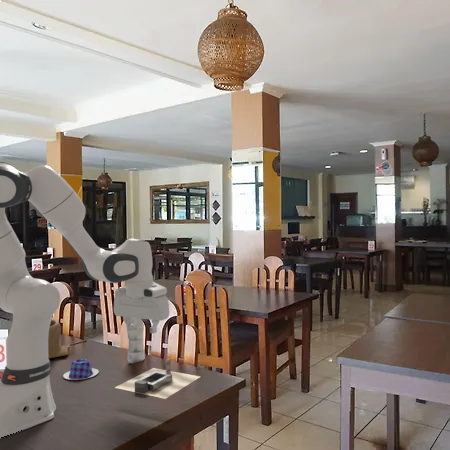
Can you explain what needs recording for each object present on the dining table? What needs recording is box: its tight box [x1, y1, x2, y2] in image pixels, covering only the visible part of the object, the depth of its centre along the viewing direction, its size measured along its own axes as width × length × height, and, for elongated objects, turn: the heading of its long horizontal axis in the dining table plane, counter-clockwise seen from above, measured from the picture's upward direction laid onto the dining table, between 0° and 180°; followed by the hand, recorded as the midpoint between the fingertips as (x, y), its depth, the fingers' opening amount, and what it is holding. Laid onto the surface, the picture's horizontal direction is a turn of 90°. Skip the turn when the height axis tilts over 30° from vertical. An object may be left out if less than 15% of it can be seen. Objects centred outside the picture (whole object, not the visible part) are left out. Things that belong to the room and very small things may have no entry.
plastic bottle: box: [125, 317, 146, 365], centre depth 168 cm, size 6×7×20 cm
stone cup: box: [48, 319, 71, 360], centre depth 178 cm, size 15×12×15 cm
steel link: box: [137, 371, 172, 392], centre depth 143 cm, size 10×7×2 cm
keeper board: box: [114, 358, 201, 400], centre depth 145 cm, size 20×20×8 cm
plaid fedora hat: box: [62, 358, 100, 381], centre depth 157 cm, size 12×12×5 cm
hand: (141, 331), depth 143 cm, fingers open, 8 cm apart
